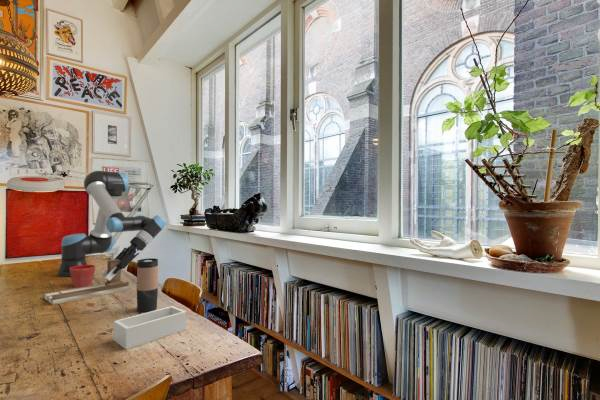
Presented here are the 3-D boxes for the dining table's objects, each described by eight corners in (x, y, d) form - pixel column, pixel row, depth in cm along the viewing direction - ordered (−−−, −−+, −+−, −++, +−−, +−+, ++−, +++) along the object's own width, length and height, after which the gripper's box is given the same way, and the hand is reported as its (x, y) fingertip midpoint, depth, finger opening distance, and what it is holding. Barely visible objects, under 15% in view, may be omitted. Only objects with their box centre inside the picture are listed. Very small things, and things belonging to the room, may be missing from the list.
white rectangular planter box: (113, 340, 99) (113, 321, 99) (172, 322, 114) (172, 305, 114) (126, 349, 93) (126, 329, 93) (186, 329, 108) (186, 311, 108)
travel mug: (161, 306, 130) (161, 258, 130) (150, 313, 122) (151, 262, 123) (143, 306, 131) (144, 258, 131) (132, 312, 123) (132, 261, 123)
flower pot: (85, 288, 156) (86, 269, 156) (64, 288, 156) (64, 268, 156) (99, 283, 167) (100, 264, 167) (79, 282, 167) (79, 264, 167)
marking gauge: (104, 284, 153) (104, 260, 154) (117, 282, 158) (117, 258, 158) (109, 287, 149) (109, 262, 149) (122, 284, 154) (123, 260, 154)
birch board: (44, 298, 140) (44, 289, 140) (117, 285, 163) (117, 277, 163) (52, 305, 131) (52, 295, 131) (128, 290, 154) (128, 282, 154)
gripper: (154, 247, 160) (118, 285, 147) (138, 243, 171) (104, 279, 158) (143, 237, 156) (106, 276, 143) (128, 234, 167) (92, 270, 154)
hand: (105, 278), depth 151 cm, fingers closed on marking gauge, 4 cm apart
